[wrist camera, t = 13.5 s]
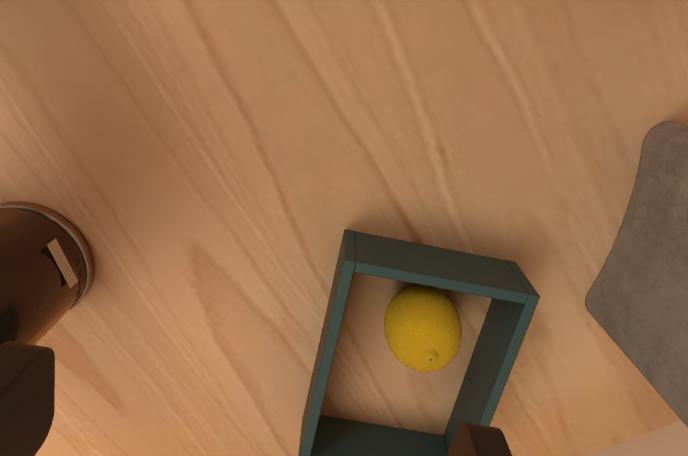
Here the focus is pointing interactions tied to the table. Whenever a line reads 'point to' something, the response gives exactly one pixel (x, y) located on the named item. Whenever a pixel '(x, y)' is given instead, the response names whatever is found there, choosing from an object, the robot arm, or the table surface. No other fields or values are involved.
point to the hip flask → (652, 269)
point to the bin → (485, 365)
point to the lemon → (422, 328)
